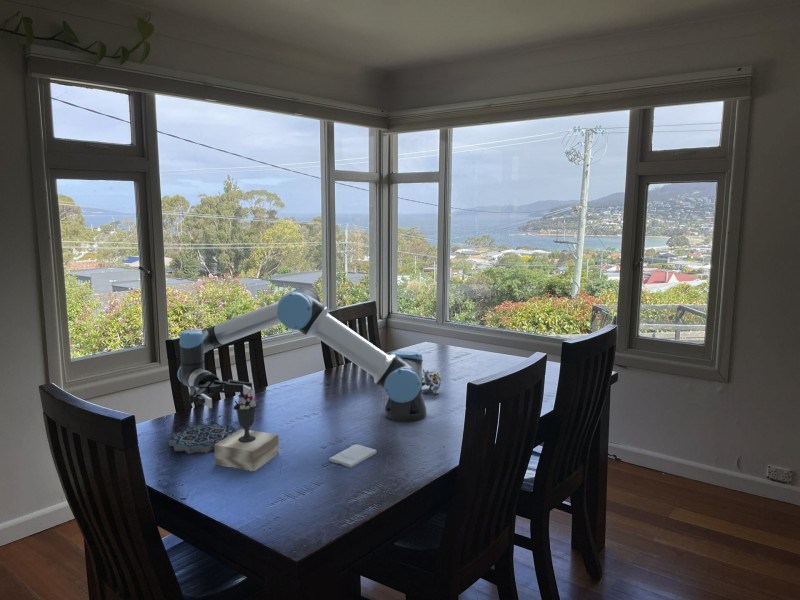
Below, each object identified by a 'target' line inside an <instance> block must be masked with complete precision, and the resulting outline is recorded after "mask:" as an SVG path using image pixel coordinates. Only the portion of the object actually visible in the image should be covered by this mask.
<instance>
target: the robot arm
mask: <svg viewBox="0 0 800 600" xmlns="http://www.w3.org/2000/svg"><path fill="white" fill-rule="evenodd" d="M279 324H282V325H283V326H284V327H286V328H288V329H291V330H298V332H300V333H302V334H303V335H305V337H309V336H314V337H316V338H317V339H318V340H320V341H322V343H324V344H326V345H327V346H329V348H332V349H333V350H334V351H336V352H337V353H339V354H340V355H342V356H343V357H345V358H346V359H348V360H349V361H351V362H352V363H353V364H355V365H356V366H357V367H359V368H361V369H362V371H365V372H366V373H368V374H369V375H370V376H372V377H373V381H374V384H375V385H377V386H379V387H380V388H381V389H382V390H384V392H385V394H386V395H387V399H386V403H385V405H384V407H383V409H384V416H385V418H386V419H389V420H392V421H395V422H396V421H397V422H404V423H405V422H407V423H408V422H416V420H417V421H420V420H423V419H424V418H425V416H427V406H426V404H425V403H426V402H425V400H424V397H423V392H422V391H423V390H422V389H423V386H422V377H423V361H424V360H423V355H422V353H421V352H418V351H412V350H409V351H408V350H404V351H403V350H401V351H399V350H398V351H392V352H390V354H387V353H386V352H385V351H384V350H381V348H379V347H377V346H376V345H375V344H373V343H372V342H370V341H369V340H367V339H366V338H364V337H363V336H361V335H360V334H359V333H357V332H355V331H354V330H353V329H352V328H350V327H349V326H347V325H345V323H343V322H341V321H340V320H338V319H337V318H335V317H334V316H333V315H331V314H330V313H329V309H328V306H327V305H325V304H323V303H322V302H321V298H320V296H319V295H318V293H317V292H316V291H315V290H314V289H312V288H309V287H306V286H303V287H297V288H295V289H293V290H292V291H288V292H287V293H285V294H283V296H280V297H279V300H278V301H275V302H272V303H270V304H268V305H264V306H262V307H260V308H257V309H254V310H252V311H249V312H246V313H244V314H241V315H238V316H236V317H233V318H230V319H228V320H226V321H222V322H220V323H218V324H215V325H212V326H207V327H205V328H203V329H202V330H200V329H187V330H182V331H181V332H180V334H179V343H178V344H179V350H180V354H179V355H180V366H179V367H178V370H177V372H176V374H177V375H176V376H177V378H178V380H179V382H181V384H182V385H184V386H186V387H188V388H189V394H188V399H189V400H188V401H189V404H195V405H196V406H200V405H204V406H205V407H207V408H209V409H213V399H212V396H214V395H215V394H220V393H221V394H222V393H223V394H226V393H229V392H230V393H243V395H245V394H248V397H249V396H252V397H253V400H254V399H256V394H255V393H256V391H255V389H254V388H253V382H247V381H241V380H234V379H232V378H228V379H227V381H222V380H220V378H219V377H218V376H217V375H216V374H214V373H212V372H211V371H209V370H206V369H205V353H208V352H209V351H211V350H212V349H215V348H218V347H220V346H223V345H226V344H229V343H231V342H233V341H236V340H240V339H242V338H244V337H247V336H249V335H252V334H256V333H257V332H261V331H263V330H266V329H269V328H271V327H274V326H277V325H279ZM251 389H253V390H252V391H251ZM249 391H250V392H249ZM248 392H249V393H248ZM250 393H251V395H250ZM194 402H196V403H194ZM422 418H423V419H422Z"/></svg>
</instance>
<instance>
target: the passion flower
mask: <svg viewBox="0 0 800 600" xmlns="http://www.w3.org/2000/svg"><path fill="white" fill-rule="evenodd" d="M422 374H423V376H422V387H423V386H427V387H428V390H429V392H431V394H433V396H434V395H436V394H437V393H438V394H439V390H441V383H442V382H441V381H442V379H441V377H440V375H439V373H438V372H434V373H433V372H432V371H431V372H430V371H429V370H425V369H424V368H422ZM435 393H436V394H435Z"/></svg>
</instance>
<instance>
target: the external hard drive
mask: <svg viewBox="0 0 800 600" xmlns="http://www.w3.org/2000/svg"><path fill="white" fill-rule="evenodd" d="M375 454H377V449H374V448H371V447H367V446H364V445H361V444H358V443H355V444H353V445H351V446H350V447H348V448H346V449H343V450H342V451H340V452H337V454H334V455H333V456H331V457H329V458H328V462H331V463H335V464H338V465H342V466H344V467H347V468H350V469H351V468H354V467H355V466H356V465H358V464H360V463H362V462H364V461H366V460H367V459H368V458H370V457H372V456H374V455H375Z"/></svg>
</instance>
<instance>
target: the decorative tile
mask: <svg viewBox="0 0 800 600" xmlns="http://www.w3.org/2000/svg"><path fill="white" fill-rule="evenodd" d="M237 431H238V430H237V429H233V428H231V426H230V425H220V424H219V423H217V422H216V423H211V424H204V423H200V424H197V425H194V426H187V427H186V426H185V427H184V428H183V429H181V430H180V431H175V432H172V437H171V438H169V439H168V446H169V447H172V446H173V451H174V452H184V451H185V453H187V454H188V455H190V454H195V453H204V452H205V453H204V454H208V453H210V452H211V450H212V451H213V449H214V445H215V444H216V443H218V442H220V441H221V440H223V439H225V438H227V437H228V436H230V435H232V434H233V433H235V432H237ZM209 451H210V452H209ZM194 452H195V453H194ZM207 452H208V453H207Z"/></svg>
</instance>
